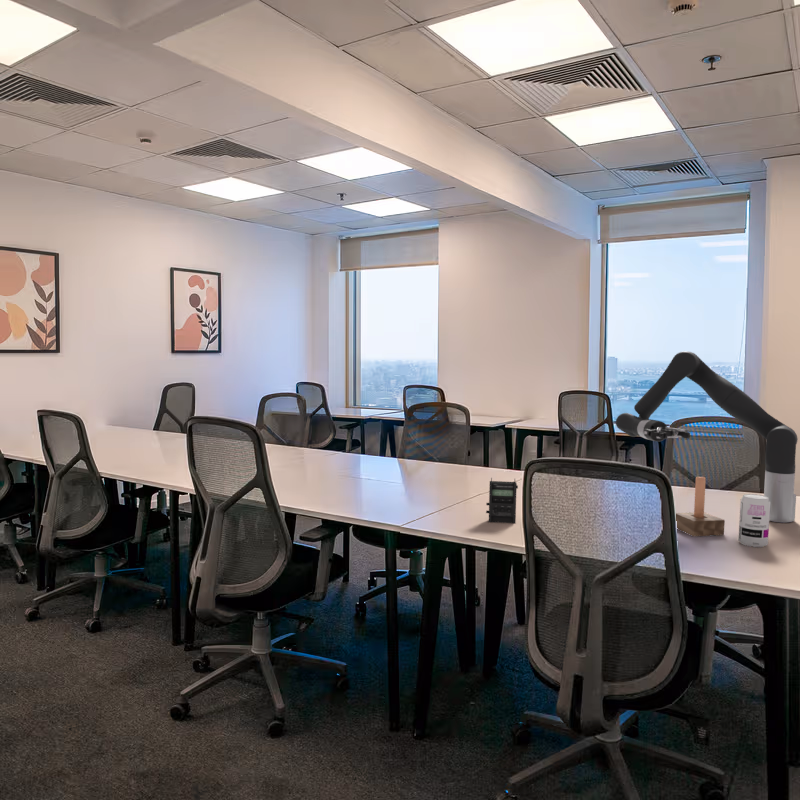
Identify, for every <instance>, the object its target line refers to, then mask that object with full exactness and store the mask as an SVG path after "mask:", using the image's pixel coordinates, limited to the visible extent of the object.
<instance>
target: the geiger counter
mask: <svg viewBox="0 0 800 800" xmlns="http://www.w3.org/2000/svg"><path fill="white" fill-rule="evenodd" d="M517 489H519V485H518V483H517V482H516V479H514V481H500V480H498V481H497V480H496V481H495V480H493V477H491V478H490V481H489V489H488V491H489V492H488V493H489V495H488V496H489V497H488V498H489V499H488V502H486V505H485V506H488V510H486V511H485V514H488V523H501V524H502V523H503V524H516V521H517V519H516V518H517Z"/></svg>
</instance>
